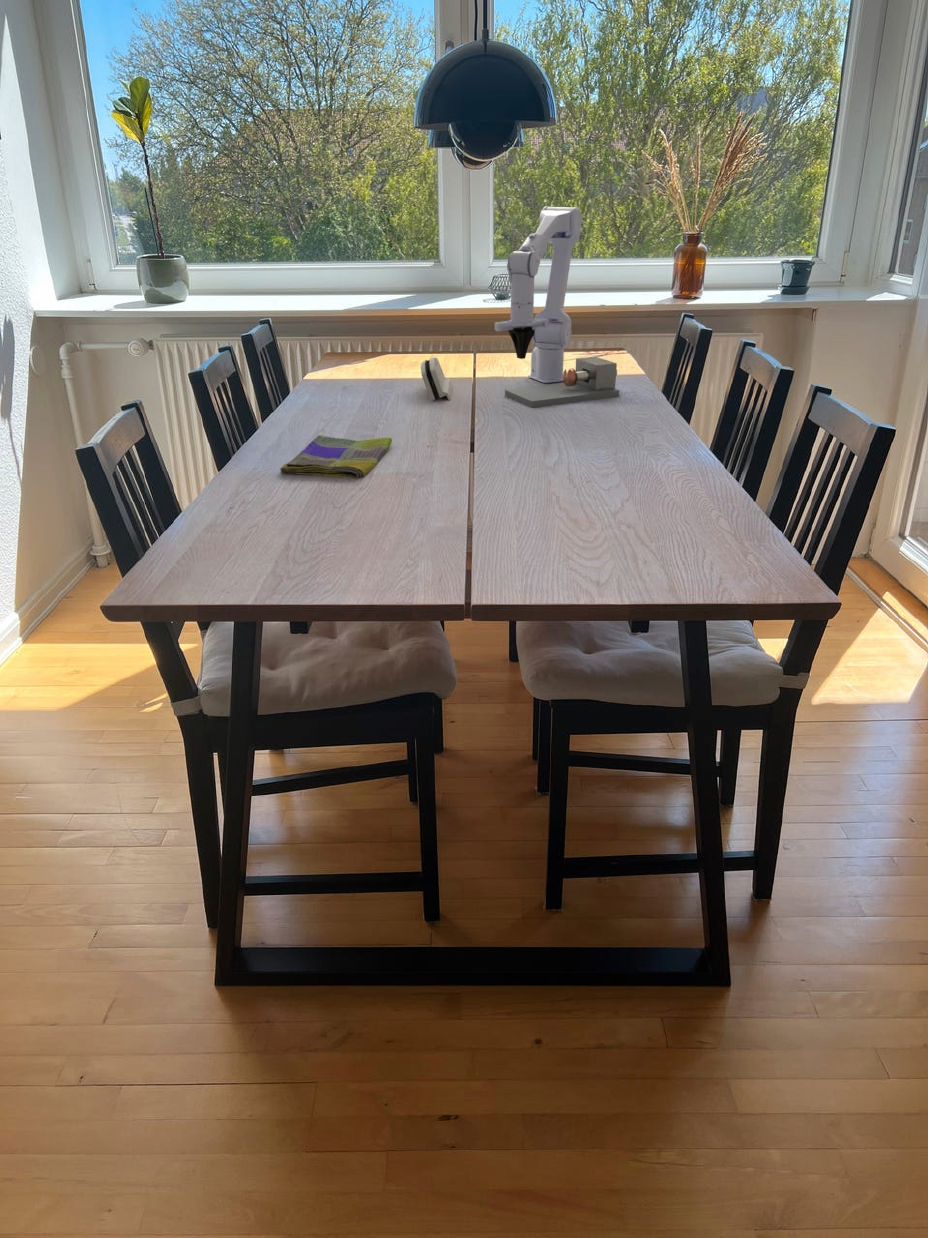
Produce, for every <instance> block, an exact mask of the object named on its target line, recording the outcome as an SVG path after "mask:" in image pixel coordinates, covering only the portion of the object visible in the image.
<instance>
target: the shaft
mask: <svg viewBox="0 0 928 1238" xmlns="http://www.w3.org/2000/svg"><path fill="white" fill-rule="evenodd" d="M617 376H618V370H617V368H616V377H617ZM585 380H589V371H581V372H576V369H575V368H565V369H564V370H563V381H562V382H563V383H564V384H565V385H566V386H567V387H569V386H575V385H576V383H577V381H585Z"/></svg>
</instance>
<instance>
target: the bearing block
mask: <svg viewBox="0 0 928 1238" xmlns="http://www.w3.org/2000/svg"><path fill="white" fill-rule="evenodd" d="M617 365H618V363H617V362H613V361H611V360H607V359H605V358H601V357H598V356H587V357H579V358H575V371H576V372H581V371H589V380H585V381H577V383H576V384H578V385H580V386H583V387H586V388H588V389H591V390H594V391H601V390H609V389H616V382H617V380H616V379H617V376H616V369H617Z"/></svg>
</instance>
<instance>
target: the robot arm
mask: <svg viewBox="0 0 928 1238" xmlns="http://www.w3.org/2000/svg"><path fill="white" fill-rule="evenodd" d="M581 212H582V211H581V210H580V208H579V207H578V206H573V207H569V206H568V207H566V206H548V205H546V206H544V207H543V208H542V209H541V211H540V214H539V226H538V227H537V228H536V229H537V230H536V232H535V233H534V232H533V233H532V232H531V233H530V234H529V235H528V236H527V238H525V240H524V242H523V243H522V244H521V246H520V247H519V248H518V250H514V251H513V252H511V253H510V254H509V255H508V259H507V263H506V269H507V273H508V281H509V284H510V319H509V320H504V321H499V322H494V331H495V332H502V331H508V334H509V336H510V337H511V340H512V342H513V345H514V349H515V356H516V358H517V359H520V360H525V359H526V355H527V352H528V349H529V346H530V343H531V342H532V343H533V344H535V346H534V348H533V349H532V351H531V357H530V358H531V359H530V361H531V362H530V374H528V375H527V378H531V379H533V380H535V381H538V382H540V383H543V384H550V383H551V384H552V383H560V382H564V381H563V373H564V357H565V348H566V347H567V346H568V345H569V344H570V342H571V339H572V318H571V317H570V316H569V315H568V314H567V313H566V311H565V310H564V306H565V299H566V295H567V294H566V293H567V287H568V280H569V272H570V267H571V266H570V265H571V261H572V260H571V259H572V253H573V247H574V245H576V244H578V243H579V241H580V236H581V231H582V223H583V220H582V213H581ZM548 243H549V244H551V245H552V247H553V251H552V259H551V264H550V266H551V267H550V274H549V279H548V286H547V294H546V298H545V299H546V300H545V306H544V308H543V309H542V310H540V311H539V312H538V313H536V315H535V317H534V308H535V307H534V306H535V305H534V303H535V301H534V298H535V276H536V275H538V273H539V267H540V264H541V260H542V258H543V256H544V254H545V253H546V252H547V250H548Z"/></svg>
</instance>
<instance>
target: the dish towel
mask: <svg viewBox="0 0 928 1238" xmlns="http://www.w3.org/2000/svg"><path fill="white" fill-rule="evenodd" d="M392 441H393V439H392V438H391V437H379V438H372V439H370V438H369V439H365V440H354V439H348V438H338V437H330V436H324V435H322V434H319V435H317V436H316V437H315V438H314V439H313V440H312V441H311V442H310V443H309V444H308V445H307V446H306V447H305V448H304V449H303V450H301V451H299V453H298V454H297V455H296V456H295V457H294V458H292V460H290V461H288V463H285V464H283V466H281V467H280V468H279V470H280V472H283V473H286V474H295V473H302V474H301V475H308V474H313V475H312V476H321V475H323V476H324V477H325V476H326V477H331V476H332V477H331V478H333V477H335V478H343V479H344V478H345V479H361V478H365V476H366V475H368V474H369V473H370V472H371V471H372V470H373V469H374V468H375V467H376V466H377V465H378V464H379V462H380V461H382V459H383V457H384V456H385V455H386V453H387V452H388V450H389V448H390V446H391V445H392Z"/></svg>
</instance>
